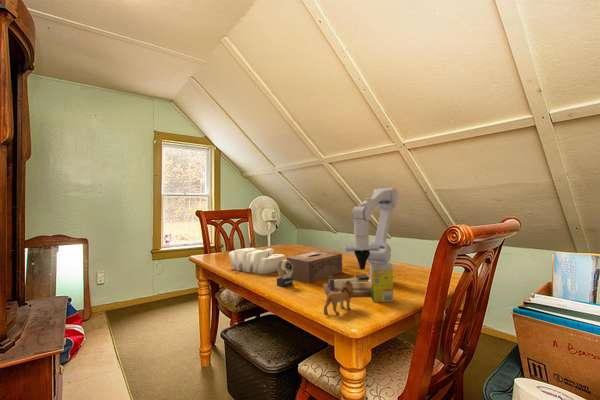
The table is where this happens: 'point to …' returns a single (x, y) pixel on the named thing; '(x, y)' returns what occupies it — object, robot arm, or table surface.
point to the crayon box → (382, 286)
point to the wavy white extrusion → (255, 260)
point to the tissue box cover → (315, 265)
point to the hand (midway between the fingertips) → (362, 268)
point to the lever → (359, 279)
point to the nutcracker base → (358, 288)
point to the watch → (283, 280)
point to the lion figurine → (340, 296)
